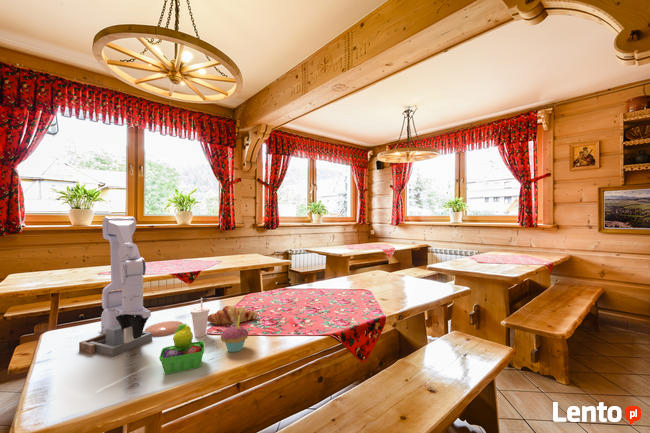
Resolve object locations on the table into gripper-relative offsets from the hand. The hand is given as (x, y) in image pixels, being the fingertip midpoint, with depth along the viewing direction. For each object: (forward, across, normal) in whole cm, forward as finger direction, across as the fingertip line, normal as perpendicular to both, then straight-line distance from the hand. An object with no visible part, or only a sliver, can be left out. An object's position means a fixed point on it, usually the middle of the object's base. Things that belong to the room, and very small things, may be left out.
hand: (132, 336), depth 93 cm
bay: (+4, -11, 0) cm, 11 cm away
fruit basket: (+4, +25, -2) cm, 25 cm away
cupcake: (+4, +32, +12) cm, 34 cm away
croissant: (+4, +14, +32) cm, 35 cm away
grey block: (+4, -8, 0) cm, 9 cm away
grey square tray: (+4, -6, 0) cm, 7 cm away
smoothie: (+4, +13, +16) cm, 21 cm away
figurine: (+4, +24, +22) cm, 33 cm away
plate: (+4, -4, +15) cm, 16 cm away
